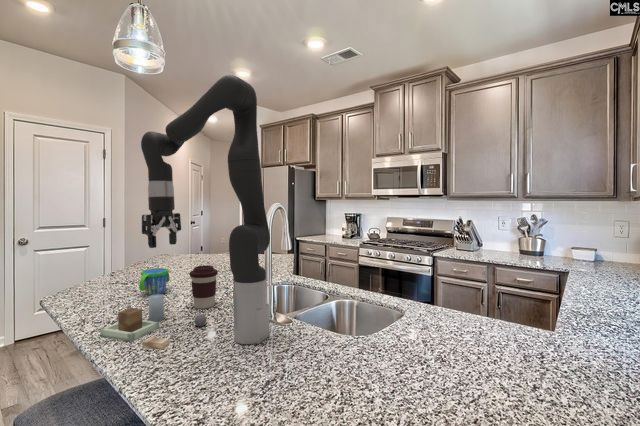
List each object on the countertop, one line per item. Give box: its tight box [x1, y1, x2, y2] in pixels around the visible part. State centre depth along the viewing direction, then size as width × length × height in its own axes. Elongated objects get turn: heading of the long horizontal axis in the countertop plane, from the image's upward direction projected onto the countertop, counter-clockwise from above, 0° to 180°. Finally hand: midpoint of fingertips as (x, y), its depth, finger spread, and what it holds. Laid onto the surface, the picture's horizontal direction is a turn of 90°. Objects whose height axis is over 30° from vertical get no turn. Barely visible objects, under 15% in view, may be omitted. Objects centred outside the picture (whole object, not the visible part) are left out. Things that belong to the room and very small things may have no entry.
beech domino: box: [141, 336, 170, 350], centre depth 91 cm, size 6×3×2 cm, turn 78°
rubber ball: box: [194, 314, 207, 327], centre depth 105 cm, size 4×4×4 cm
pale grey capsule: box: [147, 294, 165, 322], centre depth 111 cm, size 5×5×8 cm
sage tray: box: [99, 319, 160, 342], centre depth 101 cm, size 12×10×2 cm
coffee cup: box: [189, 264, 218, 310], centre depth 125 cm, size 10×10×15 cm
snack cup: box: [138, 267, 171, 297], centre depth 142 cm, size 16×10×10 cm
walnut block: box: [117, 307, 143, 332], centre depth 101 cm, size 4×4×6 cm
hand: (163, 246), depth 106 cm, fingers open, 8 cm apart
